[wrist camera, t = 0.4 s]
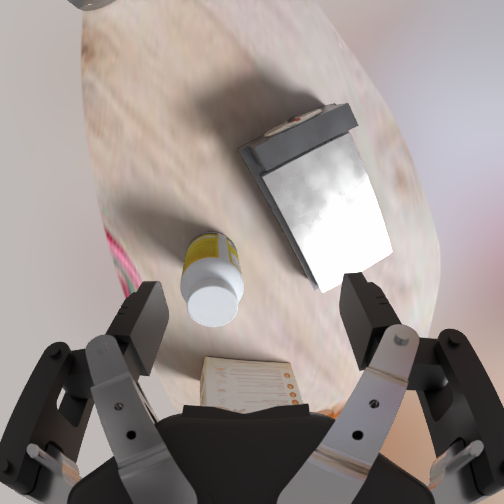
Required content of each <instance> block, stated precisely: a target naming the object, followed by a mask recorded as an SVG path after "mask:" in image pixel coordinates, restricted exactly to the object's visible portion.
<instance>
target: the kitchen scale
mask: <svg viewBox="0 0 504 504" xmlns="http://www.w3.org/2000/svg"><path fill="white" fill-rule="evenodd" d="M356 126H358V124H357V121H356V119H355V117H354V115H353V112H352V110H351V108H350V106H349V104H348V103H345V104H339V105H336V104H335V103H334V104H329V105H325V106H323V107H320V108H318V109H316V110H313V111H310V112H307V113H305V114H302V115H300V116H297V117H295V118H294V117H293V118H290V119H288V120H287V121H286V122H284V123H282V124H280V125H278V126H276V127H275V128H273V129H271V130H269V131H268V132H266V133H265V134H264V135H262V136H260V137H258V138H256V139H254V140H253V141H251V142H249V143H247V144H245V145H243V146H241V147H240V148H238V151H239V153H240V154H241V156H242V158H243V160H244V161H245V163H246V165H247V167H248V168H249V170H250V172H251V174H252V175H253V177H254V179H255V181H256V183H257V184H258V186H259V188H260V190H261V191H262V193H263V195H264V197H265V199H266V201H267V202H268V204H269V206H270V208H271V210H272V211H273V213H274V215H275V217H276V219H277V221H278V223H279V224H280V226H281V228H282V230H283V232H284V234H285V236H286V237H287V239H288V241H289V243H290V245H291V247H292V249H293V251H294V253H295V255H296V256H297V258H298V260H299V262H300V264H301V266H302V268H303V270H304V272H305V274H306V276H307V278H308V280H309V281H310V283H311V285H312V286H313V288H314V290H316V289H318V288H319V287H318V285H317V283H316V281H315V279H314V277H313V275H312V273H311V271H310V269H309V267H308V265H307V263H306V261H305V259H304V257H303V255H302V253H301V251H300V249H299V247H298V245H297V243H296V241H295V239H294V237H293V235H292V233H291V231H290V229H289V227H288V226H287V224H286V222H285V220H284V218H283V216H282V214H281V212H280V210H279V208H278V207H277V205H276V203H275V201H274V199H273V197H272V195H271V194H270V192H269V190H268V188H267V186H266V184H265V183H264V181H263V179H262V177H261V175H262V174H264V173H266V172H268V171H270V170H272V169H273V168H275V167H277V166H279V165H281V164H283V163H285V162H287V161H289V160H290V159H292V158H294V157H296V156H298V155H300V154H302V153H304V152H306V151H308V150H310V149H312V148H314V147H316V146H318V145H320V144H322V143H324V142H326V141H328V140H330V139H332V138H334V137H336V136H338V135H341V134H343V133H345V132H349V131H348V130H350V129H352V128H354V127H356Z"/></svg>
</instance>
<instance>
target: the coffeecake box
mask: <svg viewBox="0 0 504 504" xmlns="http://www.w3.org/2000/svg"><path fill="white" fill-rule="evenodd" d="M298 404H304V403H303V400H302V397H301V394H300V391H299V388H298V385H297V381H296V378H295V375H294V372H293V369H292V366H291V363H275V362H258V361H244V360H233V359H223V358H214V357H205V359H204V364H203V368H202V374H201V379H200V406H210V407H217V408H221V409H225V410H229V411H233V412H238V413H243V414H246V413H251V412H256V411H260V410H264V409H268V408H271V407H275V406H284V405H298Z"/></svg>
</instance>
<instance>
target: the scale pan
mask: <svg viewBox="0 0 504 504" xmlns="http://www.w3.org/2000/svg"><path fill="white" fill-rule="evenodd" d="M261 177H262V179H263V181H264V183H265V184H266V186H267V188H268V190H269V192H270V194H271V195H272V197H273V199H274V201H275V203H276V205H277V207H278V208H279V210H280V212H281V214H282V216H283V218H284V220H285V222H286V224H287V226H288V227H289V229H290V231H291V233H292V235H293V237H294V239H295V241H296V243H297V245H298V247H299V249H300V251H301V253H302V255H303V257H304V259H305V261H306V263H307V265H308V267H309V269H310V271H311V273H312V275H313V277H314V279H315V281H316V283H317V285H318V287H319V289H320V290H321V292H322V294H323V293H324V292H326V291H328V290H330V289H332V288H333V287H335V286H337V285H339V284H340V283H342V279H343V275H344V273H351V272H361V271H362V270H364V269H366V268H367V267H369V266H371V265H372V264H374V263H375V262H377V261H379V260H380V259H382V258H384V257H385V256H387V255H388V254H390V253H391V252H392V250H391V246H390V243H389V239H388V236H387V232H386V229H385V225H384V222H383V219H382V216H381V212H380V209H379V206H378V203H377V200H376V197H375V194H374V192H373V189H372V186H371V183H370V180H369V178H368V175H367V172H366V170H365V167H364V164H363V162H362V159H361V157H360V154H359V152H358V149H357V147H356V145H355V142H354V140H353V138H352V135H351V133H350V132H345V133H343V134H341V135H338V136H336V137H334V138H332V139H330V140H328V141H326V142H324V143H322V144H320V145H318V146H316V147H314V148H312V149H310V150H308V151H306V152H304V153H302V154H300V155H298V156H296V157H294V158H292V159H290V160H289V161H287V162H285V163H283V164H281V165H279V166H277V167H275V168H273V169H272V170H270V171H268V172H266V173H264V174H262V175H261Z"/></svg>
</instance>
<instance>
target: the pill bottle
mask: <svg viewBox="0 0 504 504" xmlns="http://www.w3.org/2000/svg"><path fill="white" fill-rule="evenodd" d="M180 287H181V294H182V296H183V298H184V300H185V302H186V303H187V310H188V313H189V315H190V316H191V318H192V319H193V320H194V321H195V322H197V323H198V324H200V325H203V326H207V327H219V326H222V325H225V324H227V323H229V322H230V321H231V320H232V319H233V318H234V317H235V315H236V313H237V310H238V302H239V301H240V299H241V297H242V294H243V290H244V283H243V277H242V272H241V268H240V263H239V258H238V253H237V250H236V247H235V245H234V244H233V242H232V241H231V240H230V239H229V238H228V237H226V236H225V235H223V234H220V233H216V232H208V233H203V234H201V235H199V236H197V237H196V238H194V239H193V240H192V241H191V243H190V244H189V246H188V248H187V251H186V256H185V262H184V267H183V272H182V277H181V284H180Z"/></svg>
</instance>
